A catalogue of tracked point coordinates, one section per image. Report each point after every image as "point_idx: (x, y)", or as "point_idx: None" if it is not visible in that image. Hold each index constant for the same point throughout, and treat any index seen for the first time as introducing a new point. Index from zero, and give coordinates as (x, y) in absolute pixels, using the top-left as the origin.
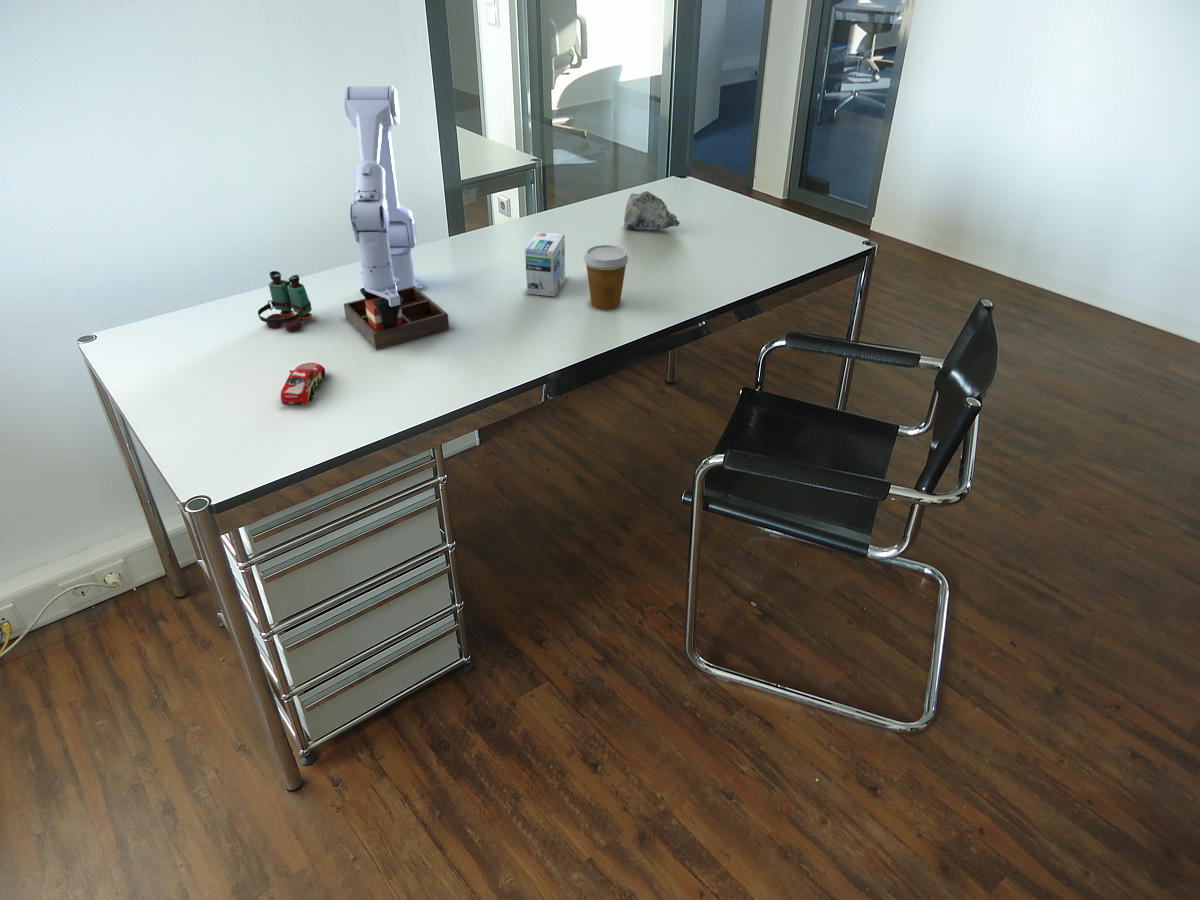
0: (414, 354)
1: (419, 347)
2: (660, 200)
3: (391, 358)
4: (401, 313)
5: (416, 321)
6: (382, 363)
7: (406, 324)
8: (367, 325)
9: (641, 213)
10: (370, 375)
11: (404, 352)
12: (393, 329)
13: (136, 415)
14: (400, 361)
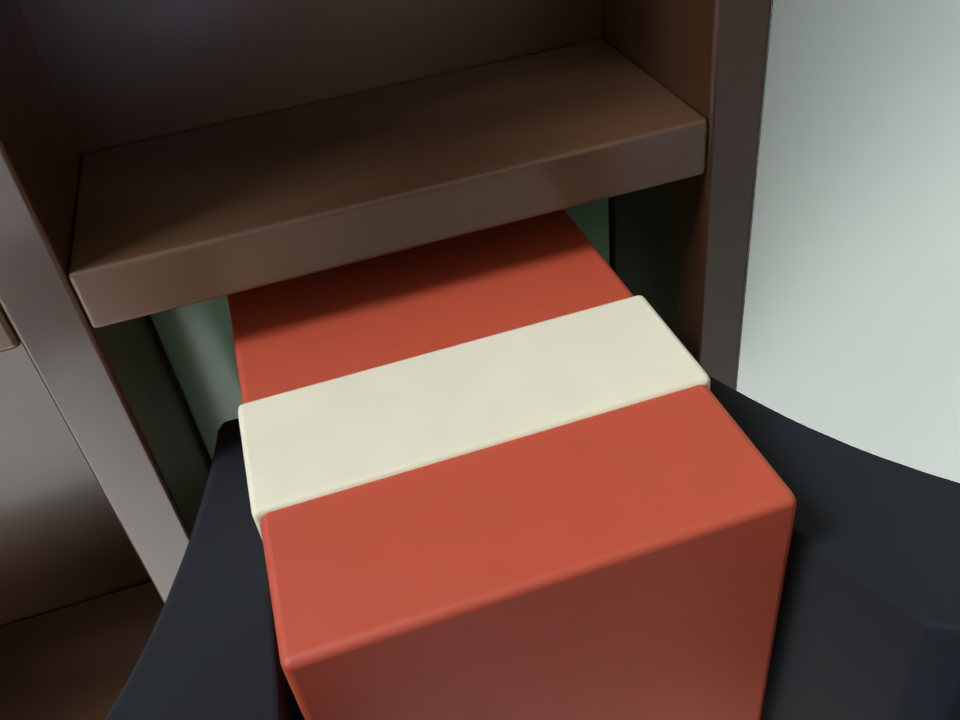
0: (933, 108)
1: (844, 13)
2: None
3: (845, 325)
4: (674, 335)
5: (746, 32)
6: (865, 396)
7: (739, 213)
8: None
9: None
10: (948, 473)
11: (829, 199)
12: (731, 380)
13: None
14: (944, 260)
